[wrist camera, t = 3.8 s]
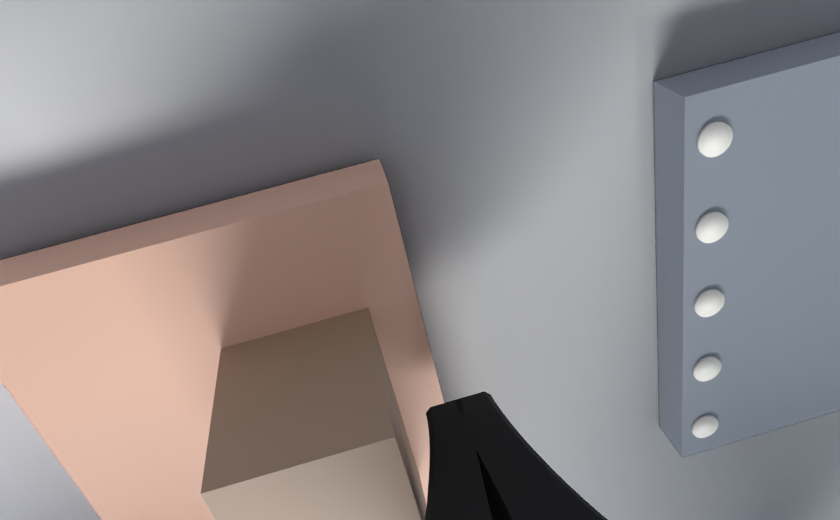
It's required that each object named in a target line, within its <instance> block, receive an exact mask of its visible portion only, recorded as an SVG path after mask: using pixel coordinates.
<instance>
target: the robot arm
mask: <svg viewBox="0 0 840 520" xmlns="http://www.w3.org/2000/svg"><path fill="white" fill-rule="evenodd" d="M426 417H427V421H428V429H429V445H430V460H429V481H428V496H427V507H426V514H425V520H607V519H606V518H605V517H604V516H603V515H601V514H600V513H599V512H598V511H597V510H596V509H594V508H593V507H592V506H591V505H590V504H589V503H588V502H586V501H585V500H584V499H583V498H582V497H581V496H580V495H579V494H578V493H577V492H575V491H574V490H573V489H572V488H571V487H570V486H569V485H568V484H567V483H566V482H565V481H564V480H563V479H562V478H561V477H560V476H559V475H558V474H557V473H556V472H555V471H554V470H553V469H552V468H551V467H550V466H549V465H548V464H547V463H546V462H545V461H544V460H543V459H542V458H541V457H540V456H539V455H538V454H537V453H536V452H535V451H534V450H533V448H532V447H531V446H530V445H529V444H528V443H527V442H526V441H525V440H524V438H523V437H522V436H521V435H520V434H519V433H518V431H517V430H516V429H515V428H514V427H513V425H512V424H511V423H510V422H509V420H508V419H507V418H506V417H505V415H504V414H503V413H502V411H501V410H500V408H499V407H498V406H497V404H496V403H495V401H494V400H493V398H492V396H491V395H490V394H488V393H486V392H481V393H478V394H474V395H471V396H467V397H464V398H460V399H457V400H453V401H450V402H446V403H443V404H439V405H436V406H433V407H430V408H429V409H428V411H427V412H426Z"/></svg>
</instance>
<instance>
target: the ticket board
mask: <svg viewBox="0 0 840 520" xmlns="http://www.w3.org/2000/svg"><path fill="white" fill-rule="evenodd" d="M653 90H654V147H655V204H656V261H657V318H658V376H659V426H660V428H661V429H662V431H663V432H664V433H665V435H666V436H667V438H668V439H669V441H670V442H671V443H672V445H673V446H674V448H675V449H676V450H677V452H678V453H679V455H680V456H681V457H682V458H683V457H686V456H690V455H693V454H696V453H700V452H703V451H706V450H710V449H713V448H716V447H720V446H723V445H726V444H730V443H733V442H736V441H740V440H743V439H746V438H749V437H753V436H756V435H759V434H763V433H766V432H769V431H773V430H776V429H779V428H783V427H786V426H789V425H793V424H796V423H799V422H803V421H806V420H809V419H812V418H816V417H819V416H822V415H826V414H829V413H832V412H836V411H839V410H840V32H837V33H833V34H830V35H826V36H822V37H818V38H815V39H811V40H807V41H804V42H800V43H796V44H792V45H789V46H785V47H781V48H777V49H774V50H770V51H766V52H762V53H759V54H755V55H751V56H747V57H744V58H740V59H736V60H732V61H729V62H725V63H721V64H717V65H714V66H710V67H706V68H702V69H699V70H695V71H691V72H688V73H684V74H680V75H676V76H673V77H669V78H665V79H661V80H658V81H654V82H653Z"/></svg>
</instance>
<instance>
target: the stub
mask: <svg viewBox="0 0 840 520" xmlns="http://www.w3.org/2000/svg"><path fill="white" fill-rule="evenodd" d="M0 381H1V382H2V384H3V385H4V386H5V388H6V389H7V390H8V392H9V393H10V395H11V396H12V397H13V399H14V400H15V401H16V403H17V404H18V406H19V407H20V408H21V410H22V411H23V413H24V414H25V415H26V417H27V418H28V419H29V421H30V422H31V424H32V425H33V426H34V428H35V429H36V430H37V432H38V433H39V435H40V436H41V437H42V439H43V440H44V441H45V443H46V444H47V446H48V447H49V448H50V450H51V451H52V452H53V454H54V455H55V457H56V458H57V459H58V461H59V462H60V463H61V465H62V466H63V468H64V469H65V470H66V472H67V473H68V474H69V476H70V477H71V479H72V480H73V481H74V483H75V484H76V485H77V487H78V488H79V490H80V491H81V492H82V494H83V495H84V496H85V498H86V499H87V501H88V502H89V503H90V505H91V506H92V507H93V509H94V510H95V512H96V513H97V514H98V516H99V517H100V518H101V520H425V514H426V507H427V496H428V481H429V460H430V445H429V429H428V421H427V417H426V412H427V411H428V409H429V408H430V407H433V406H436V405H439V404H443V403H444V400H443V396H442V392H441V388H440V384H439V380H438V377H437V373H436V369H435V365H434V361H433V357H432V353H431V349H430V345H429V341H428V337H427V333H426V329H425V325H424V322H423V318H422V314H421V310H420V306H419V302H418V298H417V294H416V290H415V286H414V282H413V278H412V274H411V270H410V267H409V263H408V259H407V255H406V251H405V247H404V243H403V239H402V235H401V231H400V227H399V223H398V219H397V215H396V212H395V208H394V204H393V200H392V196H391V192H390V188H389V184H388V181H387V178H386V175H385V172H384V170H383V167H382V164H381V162H380V159H376V160H373V161H369V162H365V163H361V164H358V165H354V166H350V167H347V168H343V169H339V170H335V171H332V172H328V173H324V174H320V175H317V176H313V177H309V178H305V179H302V180H298V181H294V182H290V183H287V184H283V185H279V186H276V187H272V188H268V189H264V190H261V191H257V192H253V193H249V194H246V195H242V196H238V197H234V198H231V199H227V200H223V201H219V202H216V203H212V204H208V205H205V206H201V207H197V208H193V209H190V210H186V211H182V212H178V213H175V214H171V215H167V216H163V217H160V218H156V219H152V220H148V221H145V222H141V223H137V224H134V225H130V226H126V227H122V228H119V229H115V230H111V231H107V232H104V233H100V234H96V235H92V236H89V237H85V238H81V239H78V240H74V241H70V242H66V243H63V244H59V245H55V246H51V247H48V248H44V249H40V250H36V251H33V252H29V253H25V254H21V255H18V256H14V257H10V258H7V259H3V260H0Z"/></svg>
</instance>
